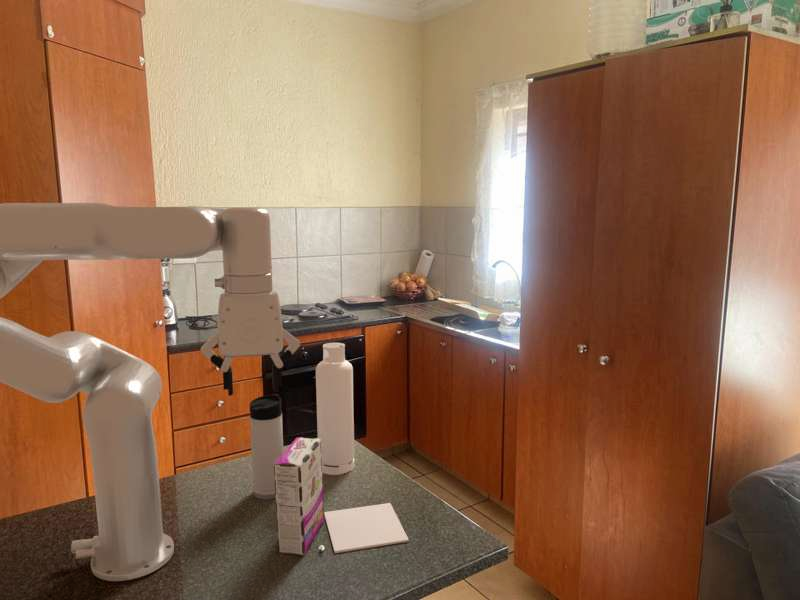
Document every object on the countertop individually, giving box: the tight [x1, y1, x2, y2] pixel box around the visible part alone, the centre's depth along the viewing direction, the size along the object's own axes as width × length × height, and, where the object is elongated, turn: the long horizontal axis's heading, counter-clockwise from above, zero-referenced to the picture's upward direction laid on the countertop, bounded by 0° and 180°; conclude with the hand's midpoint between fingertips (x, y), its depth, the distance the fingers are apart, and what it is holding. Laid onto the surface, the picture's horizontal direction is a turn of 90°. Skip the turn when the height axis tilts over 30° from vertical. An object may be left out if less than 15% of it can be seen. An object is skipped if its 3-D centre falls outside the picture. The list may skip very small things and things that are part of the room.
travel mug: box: [249, 393, 284, 501], centre depth 117 cm, size 6×7×20 cm
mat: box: [324, 502, 410, 554], centre depth 106 cm, size 13×13×1 cm
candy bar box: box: [274, 436, 325, 556], centre depth 102 cm, size 11×5×16 cm, turn 170°
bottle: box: [315, 342, 355, 476], centre depth 128 cm, size 8×8×28 cm
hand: (253, 390), depth 97 cm, fingers open, 6 cm apart
